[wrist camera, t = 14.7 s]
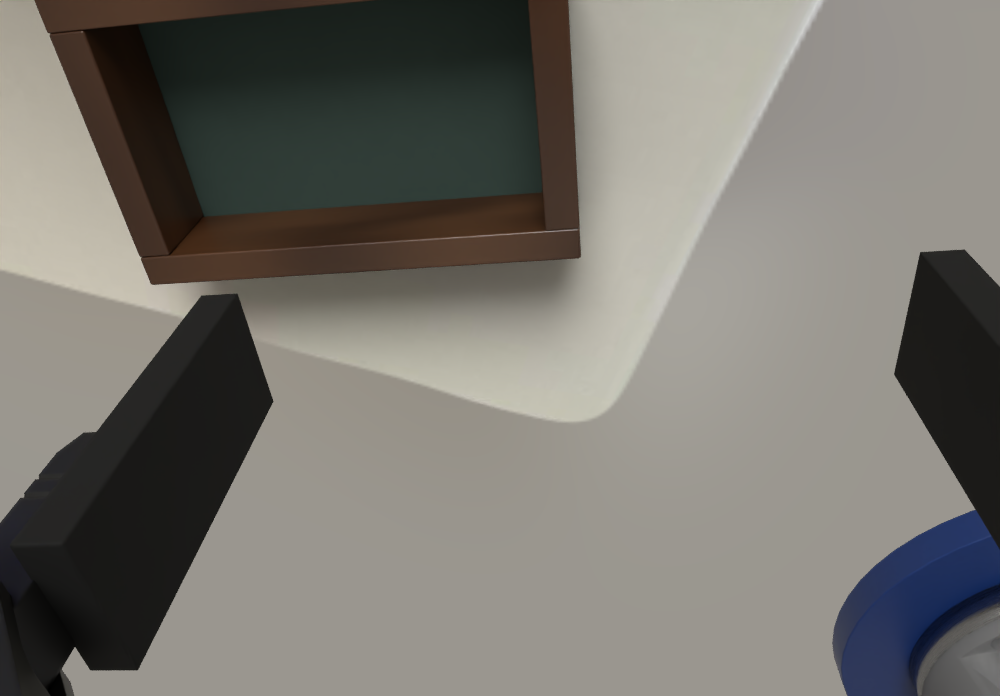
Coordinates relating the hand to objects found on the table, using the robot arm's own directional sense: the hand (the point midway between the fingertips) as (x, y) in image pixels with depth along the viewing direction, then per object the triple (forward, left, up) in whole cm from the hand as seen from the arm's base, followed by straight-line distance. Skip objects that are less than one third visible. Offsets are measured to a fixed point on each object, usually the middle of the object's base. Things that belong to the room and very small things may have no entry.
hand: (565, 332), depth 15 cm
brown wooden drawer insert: (0, +8, -16) cm, 17 cm away
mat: (0, +8, -16) cm, 18 cm away
